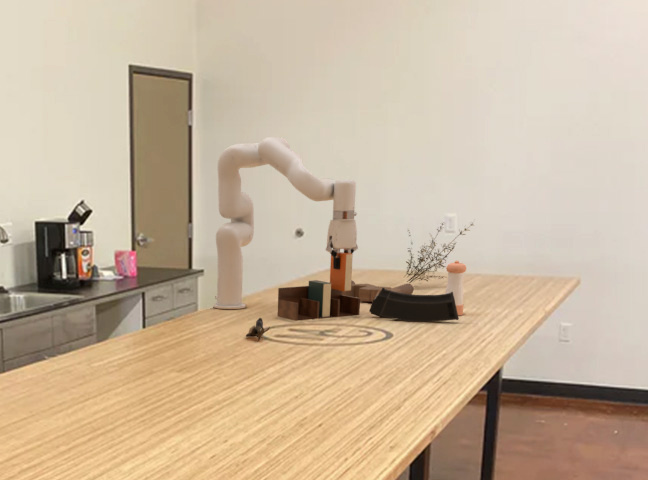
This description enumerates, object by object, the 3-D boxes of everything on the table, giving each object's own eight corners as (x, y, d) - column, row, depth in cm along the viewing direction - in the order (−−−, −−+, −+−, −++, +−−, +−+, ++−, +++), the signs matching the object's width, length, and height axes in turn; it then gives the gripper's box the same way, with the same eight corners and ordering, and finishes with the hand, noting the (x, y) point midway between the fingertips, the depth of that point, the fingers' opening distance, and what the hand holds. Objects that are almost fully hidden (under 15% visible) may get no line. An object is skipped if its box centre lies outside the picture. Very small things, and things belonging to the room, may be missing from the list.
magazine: (467, 296, 368) (385, 268, 375) (467, 297, 365) (384, 269, 372) (449, 342, 375) (368, 314, 381) (448, 344, 372) (367, 315, 378)
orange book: (329, 288, 387) (330, 252, 383) (336, 288, 389) (337, 251, 385) (344, 291, 380) (346, 254, 376) (351, 290, 381) (353, 253, 377)
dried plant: (428, 250, 436) (481, 199, 458) (366, 252, 459) (419, 203, 480) (445, 315, 452) (495, 263, 473) (383, 314, 474) (434, 264, 496)
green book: (307, 314, 387) (308, 280, 383) (315, 313, 388) (316, 280, 384) (321, 317, 379) (323, 283, 375) (330, 316, 380) (331, 282, 376)
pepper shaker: (466, 313, 390) (471, 260, 384) (456, 316, 385) (461, 262, 379) (448, 311, 395) (452, 259, 389) (438, 314, 390) (442, 260, 384)
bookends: (393, 305, 412) (419, 296, 436) (394, 290, 411) (420, 282, 434) (310, 298, 430) (339, 290, 454) (311, 285, 428) (339, 277, 452)
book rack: (277, 318, 383) (278, 287, 380) (339, 312, 394) (341, 283, 391) (295, 322, 373) (297, 291, 370) (359, 317, 384) (360, 286, 381)
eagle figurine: (275, 337, 339) (267, 327, 346) (265, 319, 335) (257, 310, 343) (255, 350, 339) (247, 340, 347) (245, 333, 336) (237, 323, 344)
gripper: (356, 214, 383) (353, 266, 389) (318, 216, 376) (315, 269, 382) (368, 215, 376) (365, 268, 382) (330, 217, 370) (328, 271, 375)
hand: (340, 268), depth 382 cm, fingers closed on orange book, 3 cm apart
